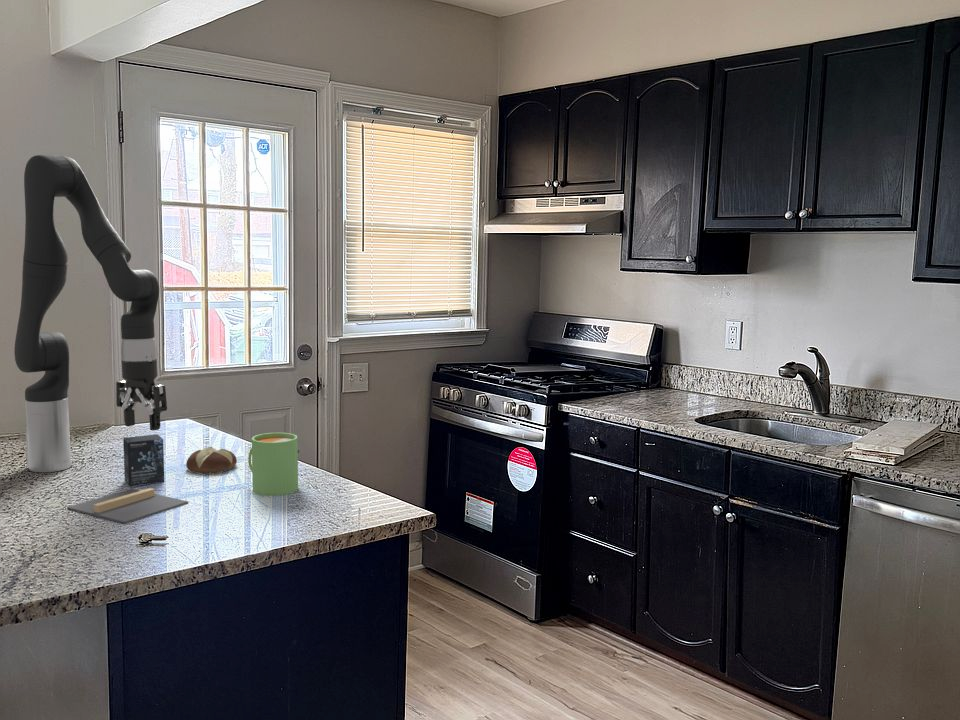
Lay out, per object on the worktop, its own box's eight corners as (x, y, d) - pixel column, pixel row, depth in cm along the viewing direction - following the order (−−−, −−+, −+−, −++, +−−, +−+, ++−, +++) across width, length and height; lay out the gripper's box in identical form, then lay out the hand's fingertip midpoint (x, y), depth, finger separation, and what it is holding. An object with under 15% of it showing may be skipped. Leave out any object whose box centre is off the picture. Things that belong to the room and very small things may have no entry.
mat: (67, 508, 180) (66, 500, 180) (131, 490, 194) (131, 482, 194) (125, 523, 171) (124, 514, 171) (188, 503, 185) (187, 494, 185)
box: (129, 487, 196) (127, 442, 195) (124, 481, 201) (122, 437, 199) (165, 482, 200) (163, 438, 199) (159, 477, 205) (157, 433, 204)
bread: (178, 471, 210) (178, 451, 210) (210, 461, 221) (209, 442, 220) (215, 477, 206) (215, 457, 206) (245, 466, 217) (245, 446, 216)
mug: (308, 486, 199) (307, 435, 198) (279, 498, 190) (278, 444, 188) (264, 479, 205) (263, 429, 203) (234, 490, 195) (233, 438, 194)
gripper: (104, 357, 197) (108, 427, 199) (146, 361, 190) (150, 434, 192) (132, 354, 203) (135, 421, 205) (174, 358, 196) (177, 428, 198)
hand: (142, 427), depth 199 cm, fingers open, 8 cm apart
